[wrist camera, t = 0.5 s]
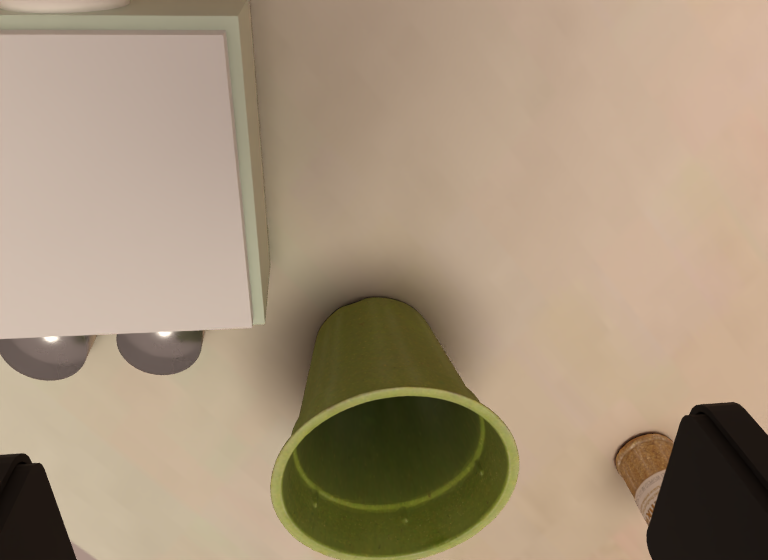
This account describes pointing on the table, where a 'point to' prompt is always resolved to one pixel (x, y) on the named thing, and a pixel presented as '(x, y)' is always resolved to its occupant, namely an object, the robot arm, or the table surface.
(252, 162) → the scale
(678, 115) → the table surface
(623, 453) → the sprinkles bottle
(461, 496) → the plant pot
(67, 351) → the spacer
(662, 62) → the table surface
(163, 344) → the spacer
